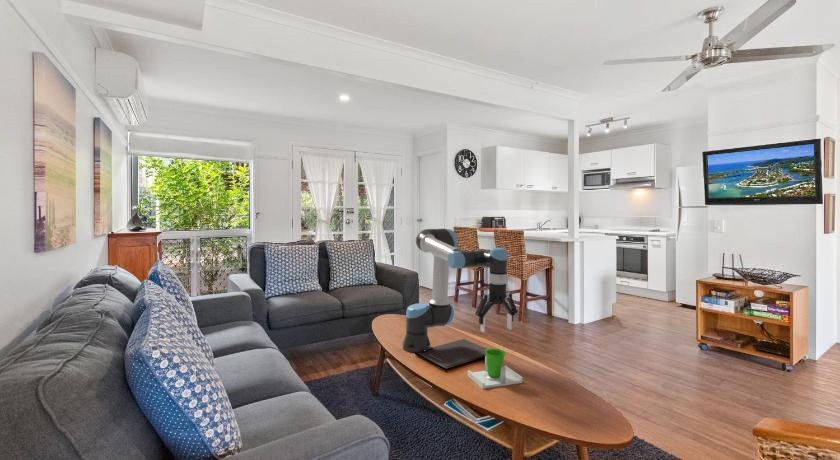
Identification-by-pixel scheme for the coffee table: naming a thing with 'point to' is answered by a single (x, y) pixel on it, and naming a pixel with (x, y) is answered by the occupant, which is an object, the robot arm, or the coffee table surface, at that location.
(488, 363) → the cup
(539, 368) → the coffee table surface
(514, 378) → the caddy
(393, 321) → the coffee table surface
